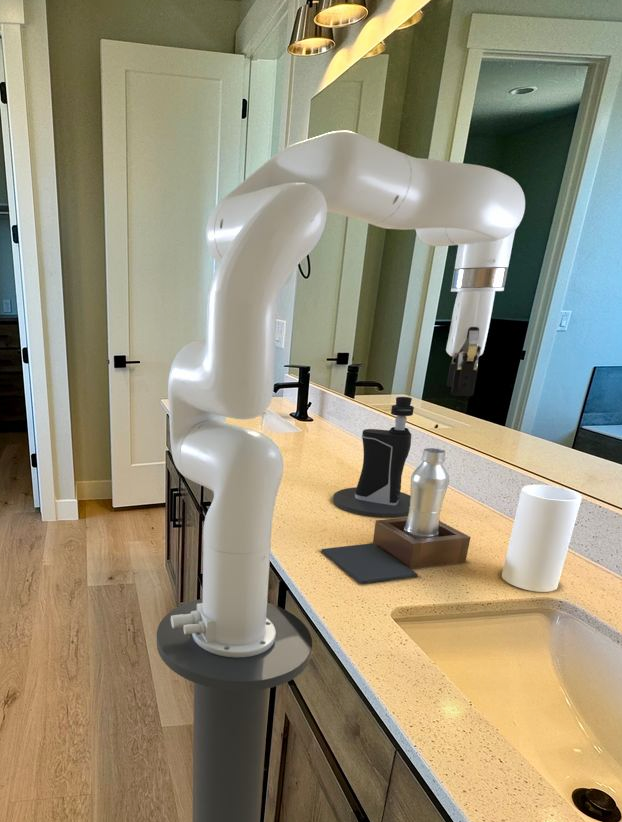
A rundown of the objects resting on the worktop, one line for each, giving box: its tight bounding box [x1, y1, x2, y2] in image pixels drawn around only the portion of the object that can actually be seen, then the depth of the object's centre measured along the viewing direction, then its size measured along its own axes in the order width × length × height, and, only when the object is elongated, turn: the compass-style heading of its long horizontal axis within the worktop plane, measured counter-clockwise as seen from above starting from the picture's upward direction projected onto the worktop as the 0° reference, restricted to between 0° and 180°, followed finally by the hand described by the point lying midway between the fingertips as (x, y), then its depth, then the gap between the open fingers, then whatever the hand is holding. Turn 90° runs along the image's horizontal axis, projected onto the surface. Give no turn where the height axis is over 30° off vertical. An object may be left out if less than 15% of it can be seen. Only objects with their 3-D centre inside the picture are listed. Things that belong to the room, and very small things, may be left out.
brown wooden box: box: [372, 516, 472, 570], centre depth 109 cm, size 12×12×5 cm
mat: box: [321, 542, 418, 585], centre depth 105 cm, size 11×14×1 cm
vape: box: [332, 396, 415, 519], centre depth 131 cm, size 19×19×25 cm
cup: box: [501, 484, 583, 593], centre depth 95 cm, size 8×8×16 cm
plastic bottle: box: [403, 447, 450, 539], centre depth 106 cm, size 6×7×20 cm
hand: (459, 391), depth 97 cm, fingers open, 9 cm apart
